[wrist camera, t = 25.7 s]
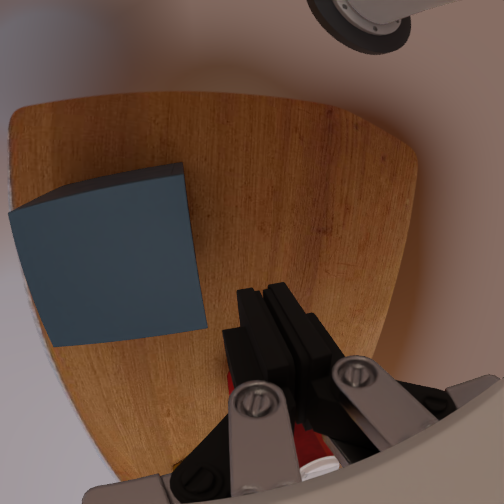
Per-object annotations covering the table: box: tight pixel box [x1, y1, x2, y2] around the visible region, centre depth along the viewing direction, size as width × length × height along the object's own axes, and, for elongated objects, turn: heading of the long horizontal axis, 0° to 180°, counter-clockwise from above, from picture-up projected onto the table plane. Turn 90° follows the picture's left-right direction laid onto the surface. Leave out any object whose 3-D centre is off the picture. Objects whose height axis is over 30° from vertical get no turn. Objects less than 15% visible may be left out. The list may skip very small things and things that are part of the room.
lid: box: [8, 174, 208, 347], centre depth 21 cm, size 13×15×1 cm
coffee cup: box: [294, 422, 339, 481], centre depth 46 cm, size 8×8×15 cm
